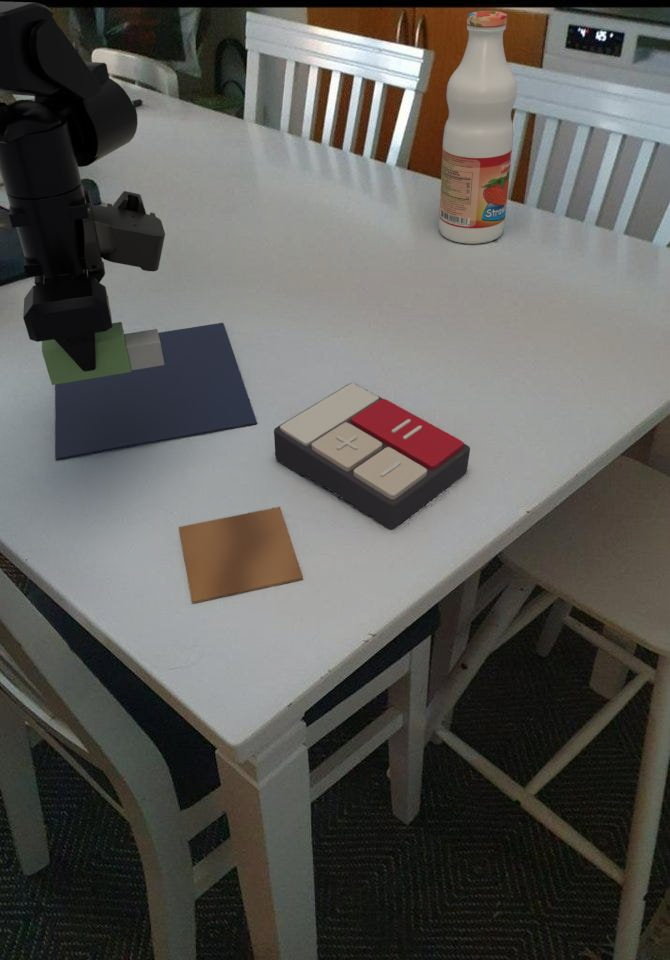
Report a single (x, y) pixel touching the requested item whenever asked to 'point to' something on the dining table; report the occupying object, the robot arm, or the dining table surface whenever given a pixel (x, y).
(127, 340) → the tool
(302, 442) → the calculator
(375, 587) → the dining table surface
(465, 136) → the fruit juice
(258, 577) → the coaster
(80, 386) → the napkin
